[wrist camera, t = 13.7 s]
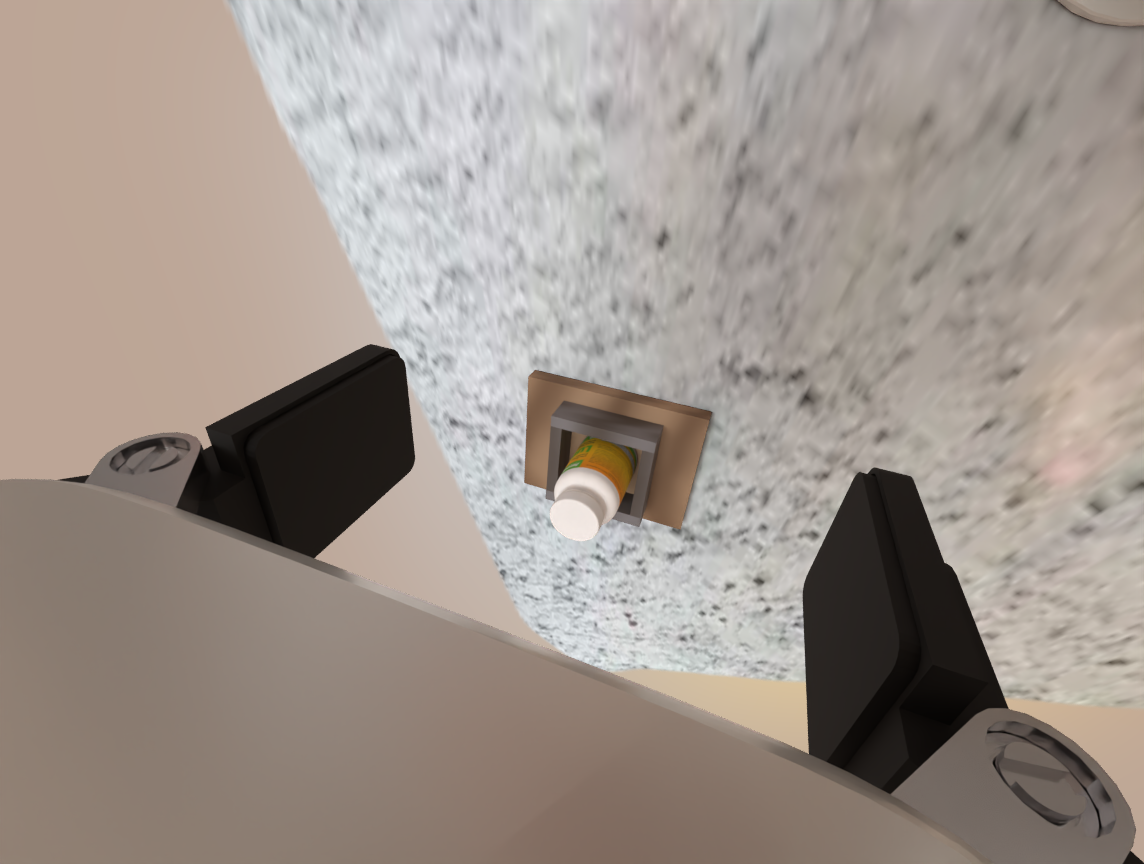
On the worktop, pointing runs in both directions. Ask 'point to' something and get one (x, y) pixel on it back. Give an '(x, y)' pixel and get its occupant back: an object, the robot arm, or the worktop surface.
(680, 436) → the collar board
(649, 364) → the worktop surface
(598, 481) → the supplement bottle
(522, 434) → the worktop surface
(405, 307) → the worktop surface
